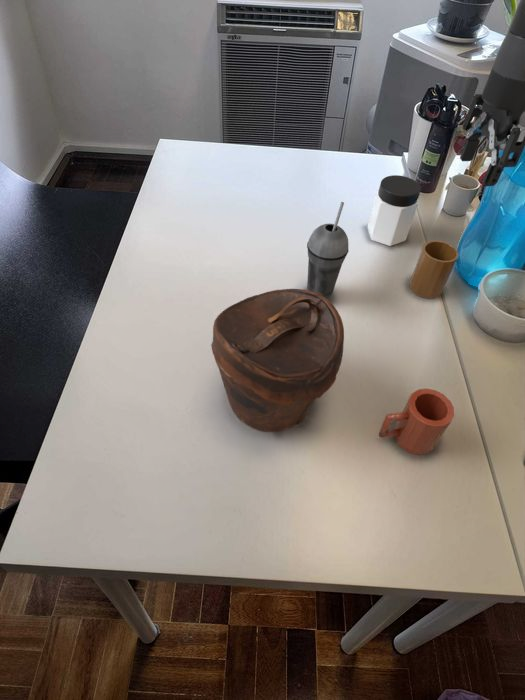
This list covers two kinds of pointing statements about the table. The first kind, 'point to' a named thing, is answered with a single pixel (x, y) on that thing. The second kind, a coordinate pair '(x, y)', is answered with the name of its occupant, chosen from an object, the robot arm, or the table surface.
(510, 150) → the robot arm
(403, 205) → the jar
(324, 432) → the table surface
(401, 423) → the mug
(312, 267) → the beverage cup
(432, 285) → the wooden cup
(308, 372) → the case
